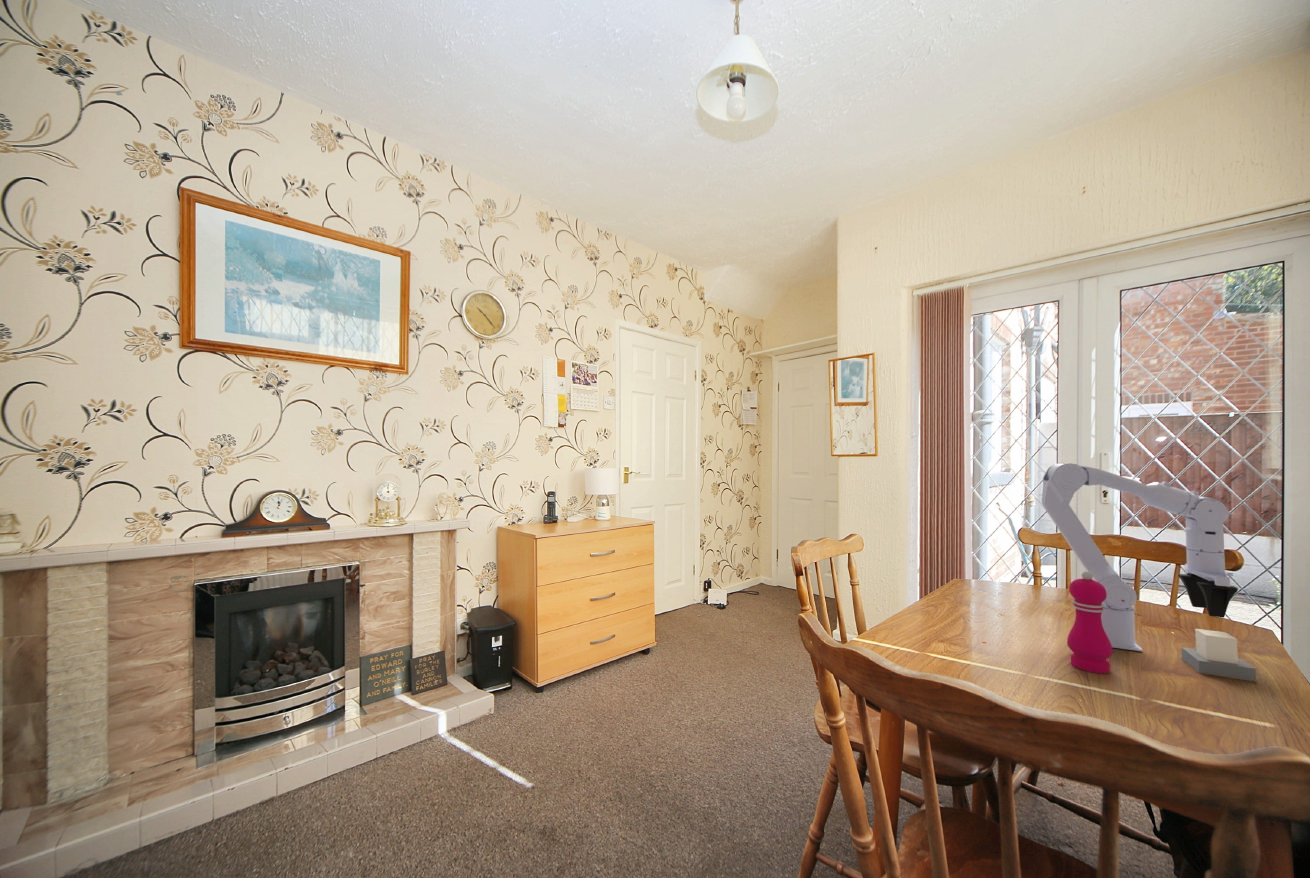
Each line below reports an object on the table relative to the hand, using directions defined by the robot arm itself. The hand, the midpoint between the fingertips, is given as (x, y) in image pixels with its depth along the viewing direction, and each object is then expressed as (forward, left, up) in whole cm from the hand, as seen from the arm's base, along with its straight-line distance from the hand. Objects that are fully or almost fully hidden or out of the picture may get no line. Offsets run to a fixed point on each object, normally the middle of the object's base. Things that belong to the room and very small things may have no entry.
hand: (1207, 611), depth 110 cm
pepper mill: (-25, -20, -10) cm, 34 cm away
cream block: (-2, -9, -7) cm, 12 cm away
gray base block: (-2, -9, -10) cm, 14 cm away
